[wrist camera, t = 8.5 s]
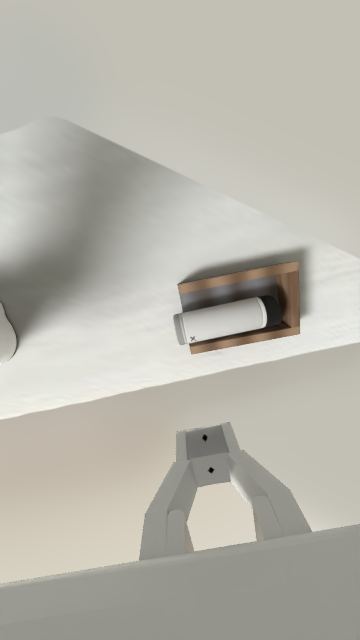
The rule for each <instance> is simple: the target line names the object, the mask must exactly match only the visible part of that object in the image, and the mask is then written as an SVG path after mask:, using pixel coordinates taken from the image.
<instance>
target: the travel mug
mask: <svg viewBox="0 0 360 640" xmlns="http://www.w3.org/2000/svg"><path fill="white" fill-rule="evenodd" d="M173 319H174V325H175V330H176V335H177V339H178V342H179V344H180V345H184V344H187V343H194V342H198V341H203V340H208V339H213V338H217V337H222V336H227V335H232V334H236V333H241V332H246V331H251V330H255V329H260V328H264V327H268V326H274V327H277V326H280V323H281V321H282V313H281V309H280V306H279V304H278V302H277V301H276V300H275V298H274V297H272V296H269V295H264V296H260V297H254V298H249V299H244V300H240V301H235V302H231V303H226V304H221V305H217V306H212V307H208V308H203V309H198V310H194V311H189V312H185V313H182V314H181V313H180V314H175V315H174V316H173Z"/></svg>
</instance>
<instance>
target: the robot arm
mask: <svg viewBox="0 0 360 640" xmlns="http://www.w3.org/2000/svg"><path fill="white" fill-rule="evenodd" d="M15 349H16V335H15V332H14V330H13V327H12V326H11V324H10V323H9V321H8V320H7V318H6V316H5V312H4V308H3V305H2V304H1V302H0V364H2V363H4V362H6V361H8V360H9V359H10V358H11V357H12V356H13V354H14V352H15ZM224 482H231V483H232V484H233V485H234V487H235V488H236V489H237V490H238V492H239V493H240V494H241V495H242V496H243V498H244V499H245V500H246V502H247V503H248V504H249V505H250V507H251V508H252V509H253V515H254V523H255V531H256V539H257V541H256V542H250V543H243V544H237V545H231V546H225V547H219V548H214V549H207V550H201V551H195V552H194V548H193V545H192V541H191V537H190V534H189V530H188V527H187V523H186V522H187V519H188V516H189V513H190V510H191V507H192V504H193V501H194V497H195V494H196V491H197V487H201V486H206V485H211V484H217V483H224ZM0 640H360V524H358V525H352V526H346V527H340V528H334V529H328V530H322V531H316V532H312V530H311V528H310V526H309V525H308V523H307V521H306V519H305V517H304V515H303V513H302V511H301V510H300V508H299V506H298V504H297V502H296V500H295V499H294V497H293V495H292V493H291V491H290V489H288V488H287V487H286V486H285V485H284V484H283V483H281V482H280V481H279V480H278V479H277V478H276V477H274V476H273V475H272V474H271V473H270V472H269V471H267V470H266V469H265V468H264V467H263V466H262V465H260V464H259V463H258V462H257V461H256V460H255V459H253V458H252V457H251V456H250V455H249V454H248V453H246V452H245V451H244V450H240V448H239V445H238V442H237V439H236V437H235V434H234V431H233V429H232V426H231V424H230V422H227V423H222V424H216V425H211V426H207V427H202V428H195V429H189V430H183V431H177V433H176V462H174V463H173V464H172V466H171V468H170V470H169V472H168V473H167V475H166V477H165V479H164V481H163V483H162V484H161V486H160V488H159V490H158V492H157V493H156V495H155V497H154V499H153V501H152V502H151V504H150V506H149V508H148V510H147V512H146V513H145V519H144V526H143V535H142V542H141V549H140V557H139V561H136V562H129V563H123V564H117V565H111V566H105V567H100V568H93V569H88V570H81V571H76V572H69V573H63V574H57V575H51V576H45V577H39V578H33V579H27V580H21V581H15V582H9V583H3V584H0Z"/></svg>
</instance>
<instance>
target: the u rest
mask: <svg viewBox="0 0 360 640" xmlns="http://www.w3.org/2000/svg"><path fill="white" fill-rule="evenodd" d="M178 289H179V294H180V299H181V304H182V309H183V313H185V312H189V311H194V310H198V309H203V308H208V307H212V306H217V305H221V304H226V303H231V302H235V301H240V300H244V299H249V298H254V297H260V296H264V295H269V296H272V297H274V298H275V300H276V301H277V302H278V304H279V306H280V309H281V313H282V321H281V323H280V326H277V327H274V326H268V327H264V328H260V329H255V330H251V331H246V332H241V333H236V334H232V335H227V336H222V337H217V338H213V339H208V340H203V341H198V342H194V343H189V345H190V350H191V354H196V353H202V352H207V351H212V350H218V349H223V348H228V347H234V346H239V345H244V344H250V343H255V342H260V341H266V340H271V339H276V338H282V337H287V336H292V335H298V334H300V308H299V268H298V261H296V262H288V263H280V264H275V265H270V266H265V267H260V268H255V269H250V270H245V271H240V272H235V273H230V274H225V275H221V276H216V277H211V278H206V279H201V280H196V281H191V282H186V283H181V284H178Z"/></svg>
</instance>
